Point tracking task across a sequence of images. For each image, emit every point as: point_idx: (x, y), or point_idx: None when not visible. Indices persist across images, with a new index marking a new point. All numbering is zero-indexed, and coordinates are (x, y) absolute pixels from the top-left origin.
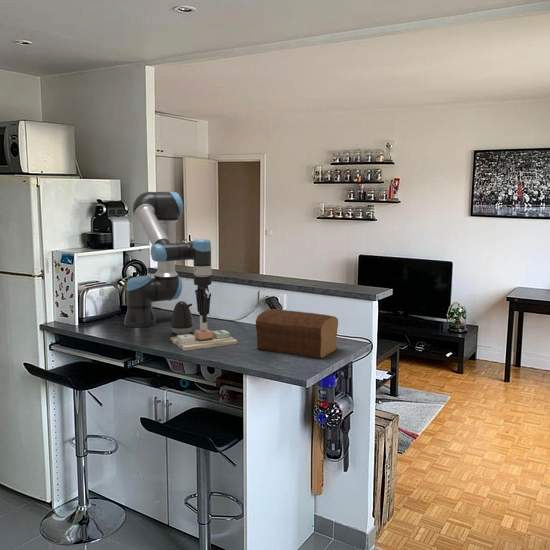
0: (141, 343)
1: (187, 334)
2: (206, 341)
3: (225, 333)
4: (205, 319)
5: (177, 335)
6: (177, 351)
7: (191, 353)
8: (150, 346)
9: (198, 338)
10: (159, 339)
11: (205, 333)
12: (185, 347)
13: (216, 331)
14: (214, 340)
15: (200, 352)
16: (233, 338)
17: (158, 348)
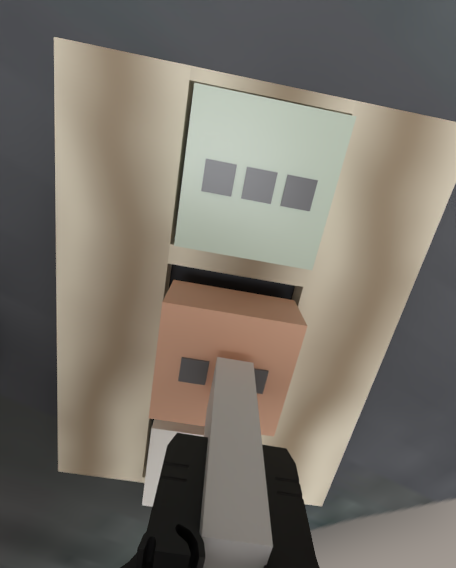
0: (48, 557)
1: (155, 447)
2: (304, 356)
3: (339, 172)
4: (296, 506)
5: (142, 502)
6: None
7: (386, 481)
8: (128, 551)
9: None
10: (5, 477)
11: (286, 384)
12: (323, 498)
13: (207, 206)
14: (324, 297)
15: (409, 443)
16: (397, 115)
17: None
